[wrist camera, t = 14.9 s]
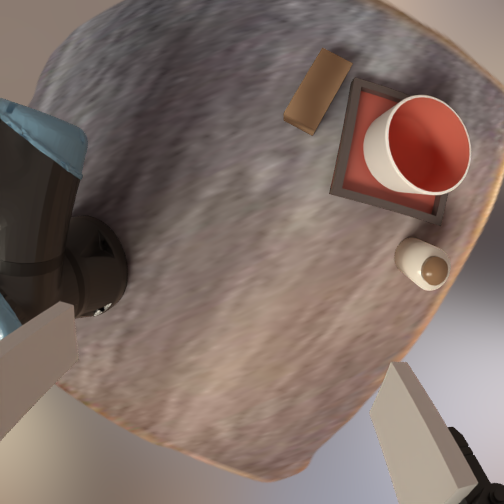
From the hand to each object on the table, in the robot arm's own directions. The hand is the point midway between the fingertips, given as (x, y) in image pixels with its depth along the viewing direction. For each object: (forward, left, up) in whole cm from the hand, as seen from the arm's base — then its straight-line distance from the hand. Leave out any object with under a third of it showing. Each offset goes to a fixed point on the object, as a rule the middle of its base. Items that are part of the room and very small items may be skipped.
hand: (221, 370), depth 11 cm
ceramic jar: (+19, +2, -29) cm, 35 cm away
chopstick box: (+2, +19, -29) cm, 35 cm away
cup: (+14, +15, -28) cm, 35 cm away
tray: (+14, +15, -29) cm, 35 cm away
